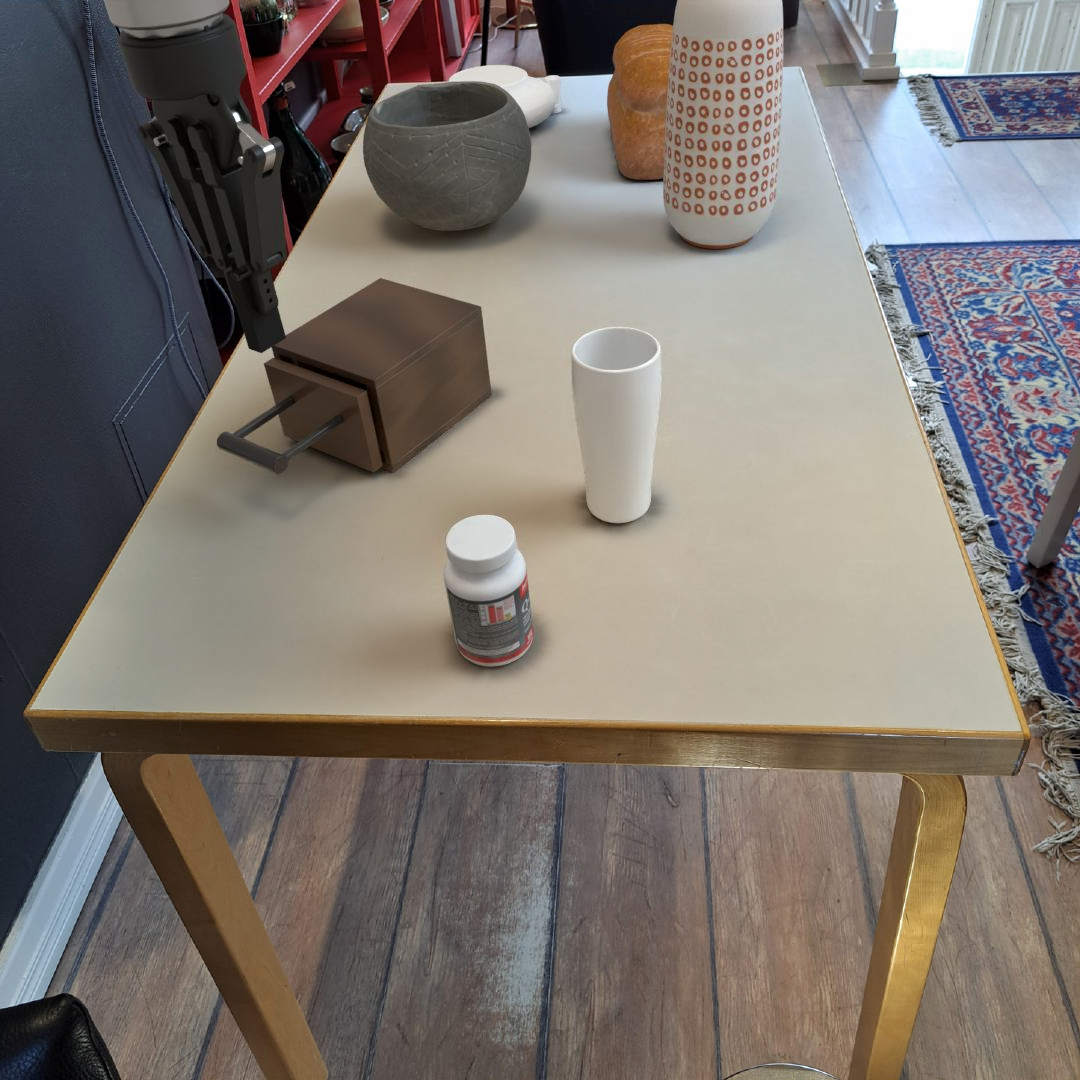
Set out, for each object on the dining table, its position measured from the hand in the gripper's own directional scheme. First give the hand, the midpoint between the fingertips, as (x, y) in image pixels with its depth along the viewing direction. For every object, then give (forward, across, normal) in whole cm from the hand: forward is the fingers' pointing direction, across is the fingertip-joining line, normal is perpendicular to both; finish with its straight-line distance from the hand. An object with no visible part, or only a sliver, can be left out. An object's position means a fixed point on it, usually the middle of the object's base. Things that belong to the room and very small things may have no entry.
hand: (267, 343), depth 79 cm
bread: (+15, +13, -84) cm, 87 cm away
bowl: (+14, +23, -51) cm, 58 cm away
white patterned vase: (+14, -9, -62) cm, 64 cm away
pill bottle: (+14, -26, +7) cm, 31 cm away
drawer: (+13, 0, -6) cm, 14 cm away
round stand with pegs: (+15, +43, -83) cm, 95 cm away
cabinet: (+14, 0, -12) cm, 18 cm away
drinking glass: (+14, -26, -11) cm, 32 cm away
